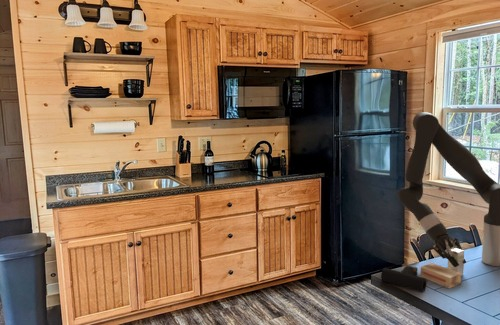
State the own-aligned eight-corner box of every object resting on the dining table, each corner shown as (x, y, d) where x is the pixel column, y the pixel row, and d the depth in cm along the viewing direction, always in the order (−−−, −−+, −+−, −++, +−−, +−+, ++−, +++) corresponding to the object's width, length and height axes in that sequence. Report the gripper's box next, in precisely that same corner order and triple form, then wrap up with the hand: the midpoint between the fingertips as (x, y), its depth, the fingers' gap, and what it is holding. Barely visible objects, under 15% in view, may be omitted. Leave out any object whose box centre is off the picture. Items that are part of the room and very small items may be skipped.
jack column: (453, 271, 152) (454, 247, 151) (463, 274, 149) (464, 250, 148) (447, 273, 150) (448, 249, 149) (457, 277, 147) (458, 252, 146)
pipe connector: (393, 260, 153) (432, 269, 143) (393, 272, 154) (432, 282, 143) (381, 270, 144) (421, 280, 134) (381, 283, 145) (421, 294, 135)
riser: (431, 272, 152) (432, 262, 152) (460, 283, 142) (461, 273, 141) (419, 276, 148) (420, 267, 148) (448, 288, 138) (449, 278, 138)
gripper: (428, 225, 150) (456, 264, 141) (450, 219, 157) (478, 256, 148) (416, 234, 156) (442, 273, 147) (438, 228, 162) (464, 265, 153)
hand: (460, 264), depth 147 cm, fingers closed on jack column, 4 cm apart
